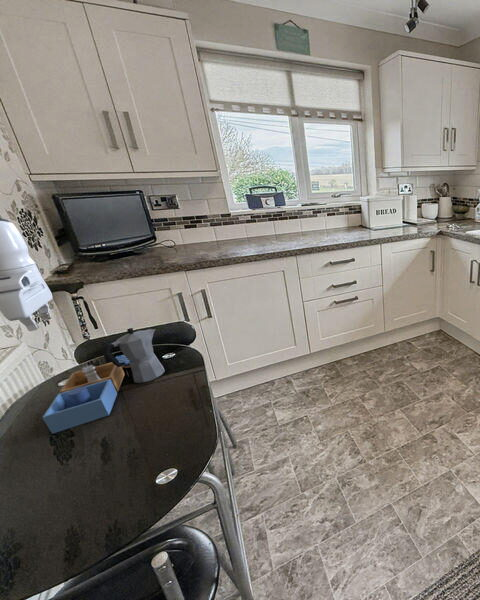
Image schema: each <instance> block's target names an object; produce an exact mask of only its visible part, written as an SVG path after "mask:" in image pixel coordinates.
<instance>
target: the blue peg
mask: <svg viewBox="0 0 480 600" xmlns="http://www.w3.org/2000/svg"><path fill="white" fill-rule="evenodd" d="M67 395H68V397H69V399H70V400H71V402H72V404H73V406H74V407H75V406H78V405H81V404H85V403H88V402H91V401H93V400H92V398H91V396H90V394H89V392H88V390H87V388H86V387H85V386H82V387H78V388H75V389H73V390H71V391H69V392H68V393H67Z"/></svg>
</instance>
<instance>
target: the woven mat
mask: <svg viewBox="0 0 480 600" xmlns="http://www.w3.org/2000/svg"><path fill="white" fill-rule="evenodd" d="M114 357H115V358H116V359H118V361H119V363H123V362H125V365H123V366H121V367H122V369H128V368H131V364H130V360H129V359H127V358H126V356H125V355H124V354H121V355H116V356H114Z"/></svg>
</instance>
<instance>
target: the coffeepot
mask: <svg viewBox="0 0 480 600" xmlns="http://www.w3.org/2000/svg"><path fill="white" fill-rule="evenodd" d="M155 331H156V329H155V328H149V329H145V330H137V331H134V328H133V327H130V328H127V329H126V332H128V333H127V334H124V335H122V336H121V337H119V338H117V339H116V340H115V341H113V342H111V343H108V344H106V345H105V346H104V348H103V350H102V355H103V356H104V357H105V358H106V359H107V360H109V361H110V363H111V362H112V363H113V364H115V365H116V366H117V367H121V366H123V365H125V362H123V363H119V361H118V359H116V358H115V357H116V356H114V354H113V353H111V350H116V349H119V350H121V352H122V354H123V355H125V356H126V358H127V359H129V360H130V364H131V367H130V369H131V372H132V378H133V382H134V383H136V384H141V383H147V382H151V381H154V380H155V379H157V378H159V377H161V376H162V375H163V374H164V373H165V371H166V370H165V368H164V366H163V364H162V363H161V362H160V359H158V357H157V355H156V354H155V353H154V347H153V343H152V341H153V336H154V334H155Z"/></svg>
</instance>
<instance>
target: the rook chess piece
mask: <svg viewBox="0 0 480 600" xmlns="http://www.w3.org/2000/svg"><path fill="white" fill-rule="evenodd" d="M95 367H96V366H94V365H93V364H88V365H86V366H83V367H82V368H81V371H82V372H83V373H85V376H86V377H87V379H88V383H89V382H93V381H96V380H100V379H101V378H99V377H98V375H97V374H96V371H95Z"/></svg>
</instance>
